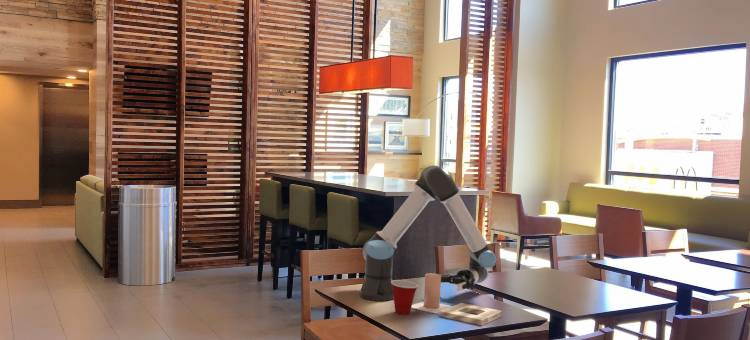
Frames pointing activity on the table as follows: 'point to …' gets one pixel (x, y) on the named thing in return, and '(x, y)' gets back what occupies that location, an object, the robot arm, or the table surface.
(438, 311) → the off-white pad
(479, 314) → the socket board
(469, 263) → the robot arm
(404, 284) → the plastic cup
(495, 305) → the table surface
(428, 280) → the terracotta canister
